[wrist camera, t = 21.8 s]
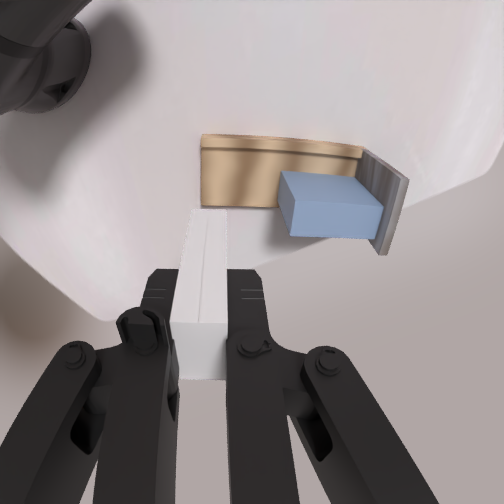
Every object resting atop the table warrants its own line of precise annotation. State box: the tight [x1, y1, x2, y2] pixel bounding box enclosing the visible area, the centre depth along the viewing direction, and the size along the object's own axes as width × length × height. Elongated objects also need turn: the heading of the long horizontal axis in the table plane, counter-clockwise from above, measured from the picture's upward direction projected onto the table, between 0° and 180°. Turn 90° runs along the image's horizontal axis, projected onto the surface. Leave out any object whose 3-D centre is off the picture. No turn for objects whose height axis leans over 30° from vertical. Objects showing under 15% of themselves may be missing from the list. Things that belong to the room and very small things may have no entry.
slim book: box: [278, 171, 384, 239], centre depth 38 cm, size 11×4×10 cm, turn 86°
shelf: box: [201, 134, 409, 255], centre depth 37 cm, size 23×10×14 cm, turn 86°
